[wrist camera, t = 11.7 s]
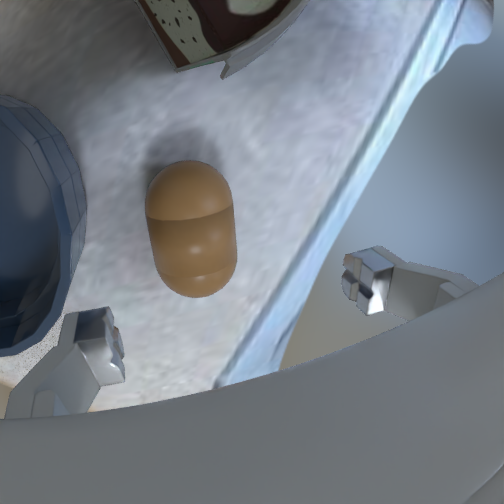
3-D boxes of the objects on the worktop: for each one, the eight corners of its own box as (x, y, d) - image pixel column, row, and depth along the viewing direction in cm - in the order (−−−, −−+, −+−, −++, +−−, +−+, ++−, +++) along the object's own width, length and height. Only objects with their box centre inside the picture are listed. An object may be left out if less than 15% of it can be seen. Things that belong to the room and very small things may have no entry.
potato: (143, 160, 17) (132, 177, 13) (223, 150, 18) (236, 163, 14) (163, 277, 20) (162, 320, 16) (233, 267, 21) (247, 306, 17)
